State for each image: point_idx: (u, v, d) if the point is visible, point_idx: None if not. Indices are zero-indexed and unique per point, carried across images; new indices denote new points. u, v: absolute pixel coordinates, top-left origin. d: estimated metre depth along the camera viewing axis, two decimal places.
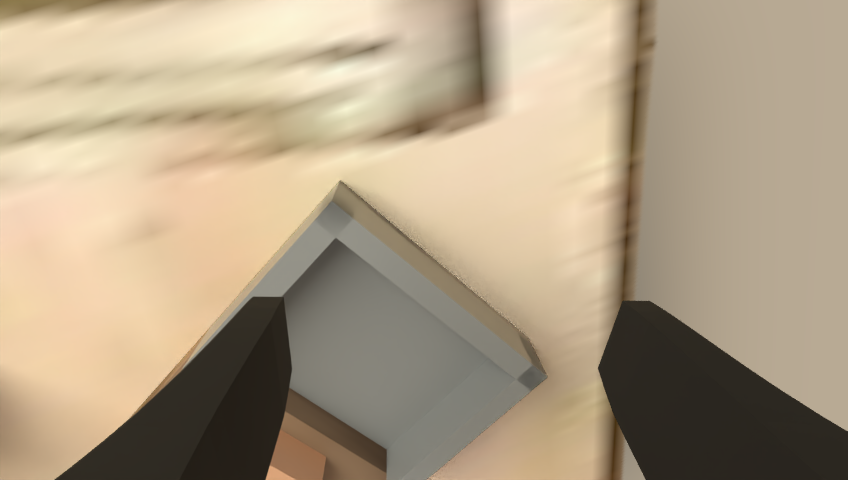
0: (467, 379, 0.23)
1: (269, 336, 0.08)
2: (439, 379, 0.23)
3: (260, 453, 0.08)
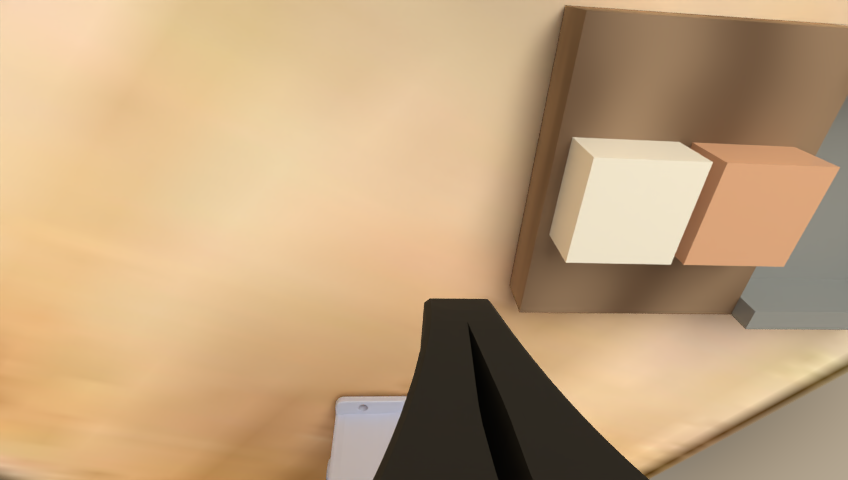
0: (837, 281, 0.22)
1: None
2: (827, 262, 0.22)
3: None
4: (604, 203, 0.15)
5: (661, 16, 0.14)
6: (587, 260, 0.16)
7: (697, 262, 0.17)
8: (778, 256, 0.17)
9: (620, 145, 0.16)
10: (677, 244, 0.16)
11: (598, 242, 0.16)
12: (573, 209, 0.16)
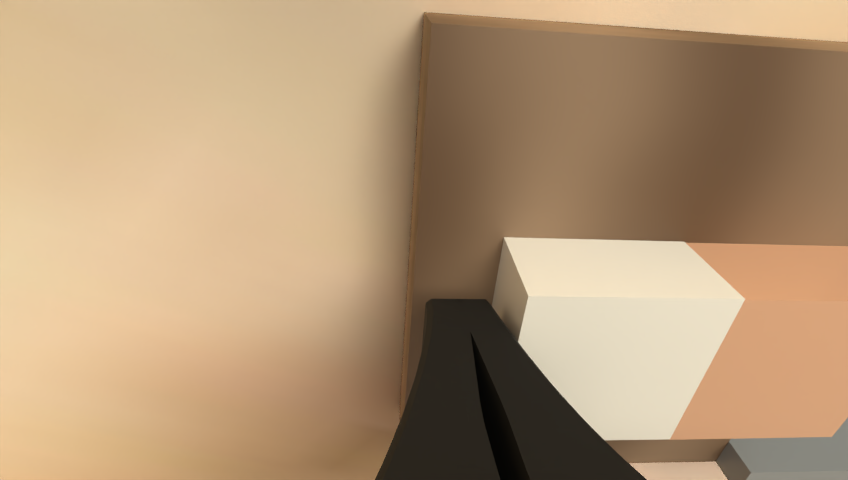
0: None
1: None
2: None
3: None
4: (553, 362, 0.09)
5: (576, 35, 0.08)
6: None
7: (691, 435, 0.10)
8: (824, 424, 0.10)
9: (582, 257, 0.09)
10: (680, 411, 0.10)
11: None
12: None
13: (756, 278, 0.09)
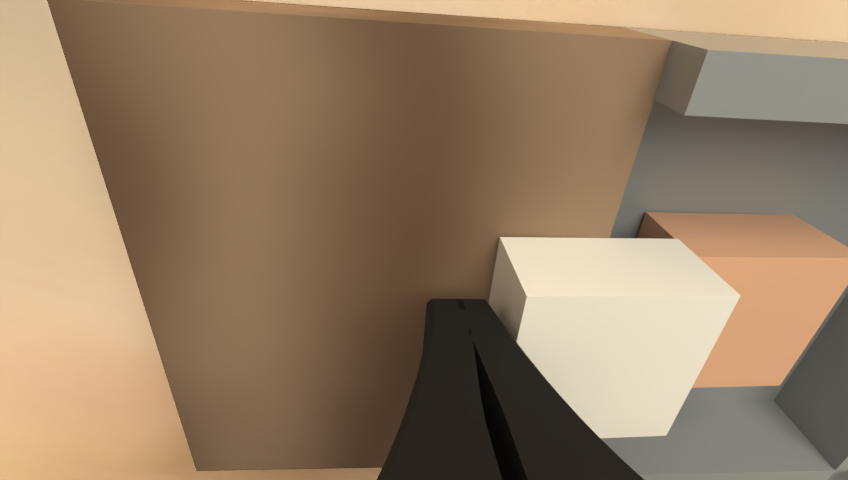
0: (707, 404, 0.15)
1: None
2: None
3: None
4: (551, 362, 0.09)
5: (214, 11, 0.07)
6: None
7: None
8: (772, 373, 0.12)
9: (578, 256, 0.09)
10: (676, 408, 0.10)
11: None
12: None
13: (706, 240, 0.10)
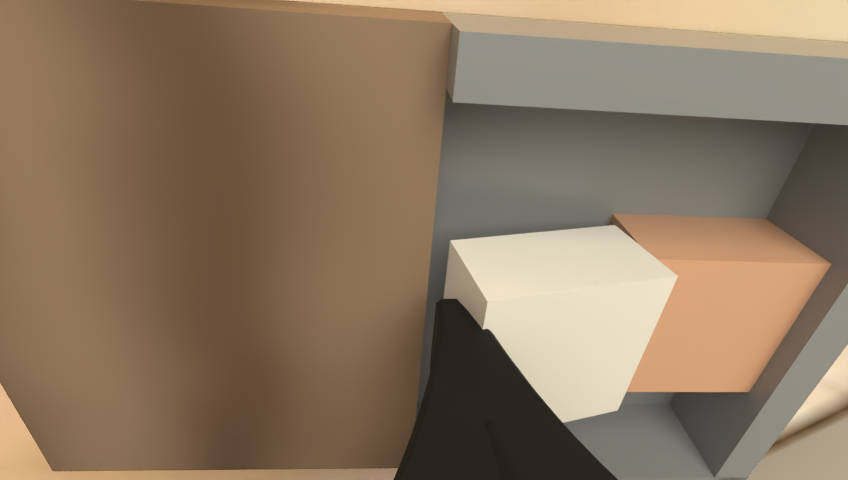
0: None
1: None
2: None
3: None
4: (513, 361, 0.09)
5: None
6: None
7: None
8: (741, 379, 0.11)
9: (529, 252, 0.09)
10: (625, 384, 0.11)
11: None
12: None
13: (669, 242, 0.10)
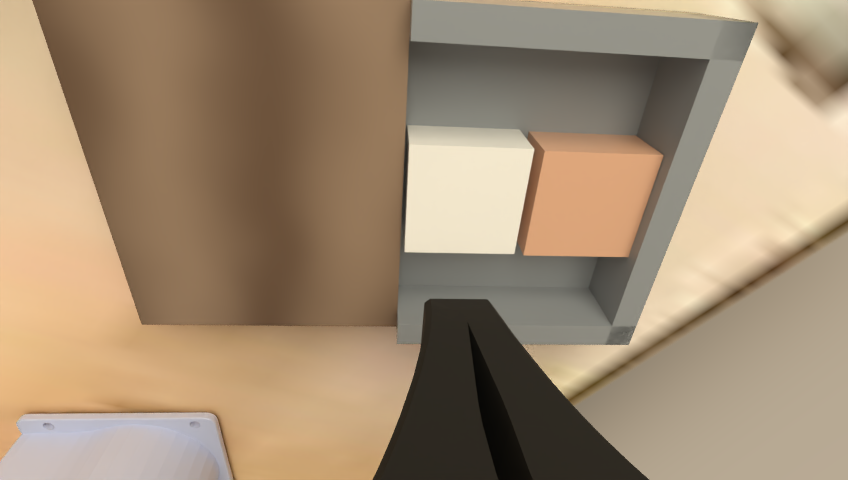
0: (535, 288, 0.20)
1: None
2: (516, 268, 0.19)
3: None
4: (430, 191, 0.15)
5: None
6: (426, 249, 0.16)
7: (536, 252, 0.17)
8: (620, 246, 0.17)
9: (450, 133, 0.15)
10: (517, 233, 0.16)
11: (433, 231, 0.16)
12: (406, 198, 0.16)
13: (560, 144, 0.15)
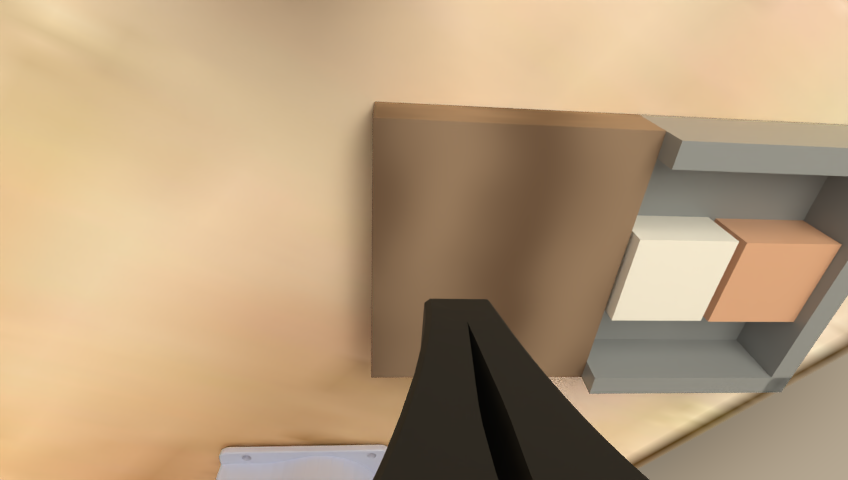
0: (692, 341, 0.23)
1: None
2: (679, 324, 0.22)
3: None
4: (647, 274, 0.18)
5: (447, 121, 0.15)
6: (630, 318, 0.19)
7: (719, 319, 0.20)
8: (789, 313, 0.20)
9: (659, 224, 0.18)
10: (706, 304, 0.19)
11: (640, 304, 0.19)
12: (619, 277, 0.19)
13: (752, 234, 0.18)
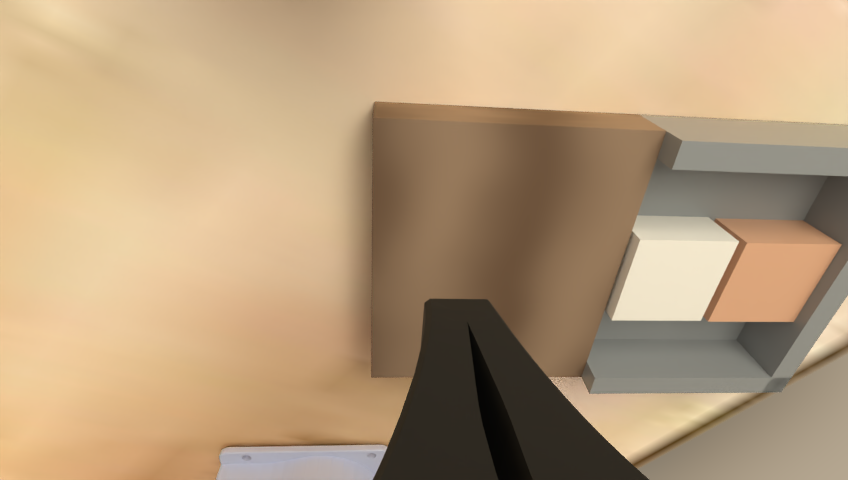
0: (692, 341, 0.23)
1: None
2: (679, 324, 0.22)
3: None
4: (647, 274, 0.18)
5: (447, 121, 0.15)
6: (630, 318, 0.19)
7: (719, 319, 0.20)
8: (789, 313, 0.20)
9: (659, 224, 0.18)
10: (706, 304, 0.19)
11: (640, 304, 0.19)
12: (619, 277, 0.19)
13: (752, 234, 0.18)
